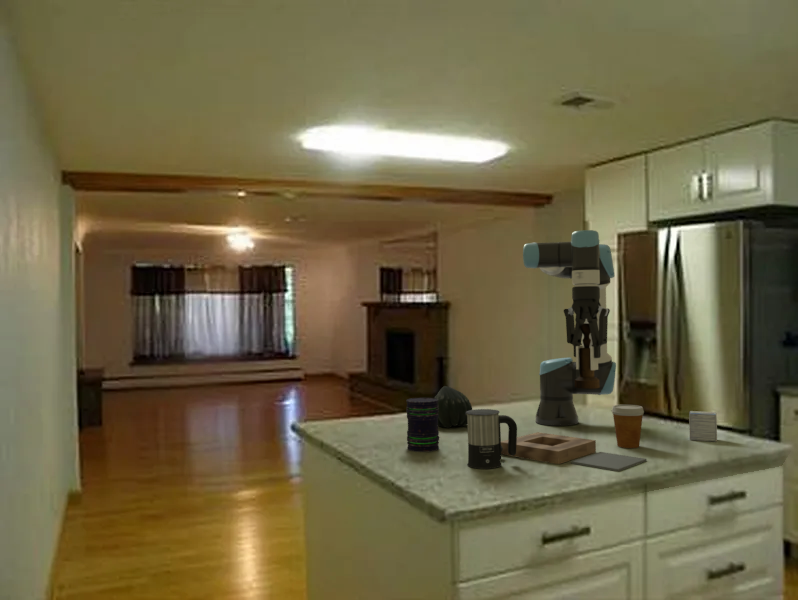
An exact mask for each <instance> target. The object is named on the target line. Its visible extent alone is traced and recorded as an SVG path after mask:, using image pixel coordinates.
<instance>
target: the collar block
mask: <svg viewBox="0 0 798 600" xmlns="http://www.w3.org/2000/svg"><path fill="white" fill-rule="evenodd" d="M596 442H597V441H596V440H595V439H588V438H582V437H576V436H575V437H574V436H566V435H561V434H554V433H553V434H551V433H547V432H540V431H537V432H534V433H533V432H532V433H528V434H526V435H522V436H517V444H516V454H515V455H514V456H513V457H515V458H520V459H521V458H522V459H525V460H527V459H528V460H531V461H537V462H543V463H550V464H555V465H560V464H563V463H567V462H571V461H573V460H576V459H579V458H582V457H585V456H589V455H592V454H595V453H597V448H596V447H597V443H596ZM501 446H502V447H503V450H502V452H501V455H504V456H510V457H512V456H511V455H510V454H509V453H508V439H505V440H501Z"/></svg>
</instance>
